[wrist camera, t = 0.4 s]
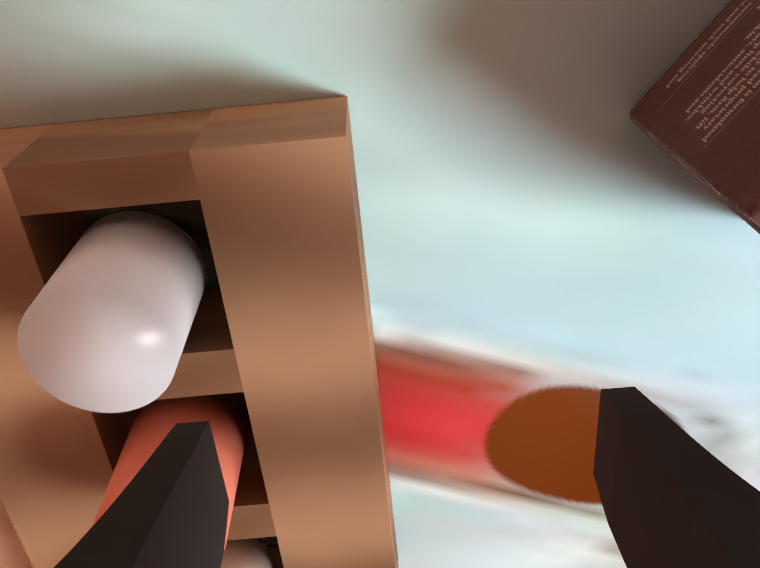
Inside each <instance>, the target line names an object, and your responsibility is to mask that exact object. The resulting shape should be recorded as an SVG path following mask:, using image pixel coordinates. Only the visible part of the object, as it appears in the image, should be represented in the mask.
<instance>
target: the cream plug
mask: <svg viewBox="0 0 760 568" xmlns="http://www.w3.org/2000/svg"><path fill="white" fill-rule="evenodd" d="M220 568H275V560H274V557H273V555H272V553H271V552H270V550H269V549H268V548H267V547H266V546H265V545H264V544H263V543H261V542H260V541H258V540H257V539H255V538H250V539H238V540H227V542H226V547H225V550H224V554H223V559H222V563H221V567H220Z"/></svg>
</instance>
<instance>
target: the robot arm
mask: <svg viewBox="0 0 760 568" xmlns="http://www.w3.org/2000/svg"><path fill="white" fill-rule="evenodd" d="M593 473H594V477H595V480H596V484H597V487H598V491H599V494H600V498H601V501H602V505H603V508H604V511H605V515H606V518H607V521H608V524H609V527H610V529H611V531H612V534H613V536H614V539H615V541H616V543H617V545H618V548H619V550H620V552H621V555H622V557H623V559H624V562H625V564H626V566H627V568H760V491H758V490H757V489H756V488H754V487H753V486H752V485H750V484H749V483H748V482H746V481H745V480H743V479H742V478H741V477H739V476H738V475H737V474H736V473H734V472H733V471H732V470H730V469H729V468H728V467H727V466H725V465H724V464H723V463H722V462H720V461H719V460H718V459H717V458H716V457H714V456H713V455H712V454H711V453H710V452H708V451H707V450H706V449H705V448H704V447H702V446H701V445H700V444H699V443H698V442H696V441H695V440H694V439H693V438H692V437H691V436H689V435H688V434H687V433H686V432H685V431H684V430H683V429H681V428H680V427H679V426H678V425H677V424H676V423H675V422H674V421H672V420H671V419H670V418H669V417H668V416H667V415H666V414H665V413H663V412H662V411H661V410H660V409H659V408H658V407H657V406H656V405H655V404H653V403H652V402H651V401H650V400H649V399H648V398H647V397H646V396H644V395H643V394H642V393H641V392H640V391H639V390H638V389H636V388H635V387H625V388H612V389H601V395H600V405H599V417H598V429H597V439H596V450H595V461H594V472H593ZM228 509H229V498H228V494H227V490H226V486H225V482H224V478H223V474H222V470H221V466H220V462H219V458H218V454H217V450H216V446H215V442H214V438H213V434H212V430H211V426H210V422H209V421H200V422H188V423H176V425H175V426H174V427H173V428H172V429H171V430H170V432H169V433H168V434H167V435H166V437H165V438H164V439H163V440H162V442H161V443H160V444H159V446H158V447H157V448H156V449H155V451H154V452H153V453H152V455H151V456H150V457H149V459H148V460H147V461H146V462H145V464H144V465H143V466H142V467H141V469H140V470H139V471H138V473H137V474H136V475H135V476H134V478H133V479H132V480H131V481H130V483H129V484H128V485H127V486H126V487H125V489H124V490H123V491H122V492H121V493H120V495H119V496H118V497H117V498H116V500H115V501H114V502H113V503H112V504H111V506H110V507H109V508H108V509H107V510H106V511H105V513H104V514H103V515H102V516H101V517H100V518H99V519H98V521H97V522H96V523H95V524H94V525H93V526H92V527H91V528H90V529H89V530H88V532H87V533H86V534H85V535H84V536H83V537H82V538H81V539H80V540H79V541H78V543H77V544H76V545H75V546H74V547H73V548H72V549H71V550H70V551H69V552H68V553H67V554H66V555H65V556H64V557H63V558H62V559H61V560H60V562H59V563H58V564H57V565H56V566H55V567H54V568H220V567H221V563H222V559H223V554H224V546H225V538H226V529H227V519H228Z"/></svg>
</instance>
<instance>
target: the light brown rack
mask: <svg viewBox="0 0 760 568" xmlns="http://www.w3.org/2000/svg"><path fill="white" fill-rule="evenodd" d="M189 200H200V202H201V206H202V211H203V215H204V220H205V224H206V228H207V233H208V237H209V242H210V246H211V250H212V255H213V259H214V263H215V268H216V272H217V277H218V281H219V285H220V289H213V290H204V292H203V295H202V297H201V300H200V303H199V306H198V309H197V312H196V314H195V317H194V320H193V323H192V326H191V328H190V331H189V334H188V337H187V340H186V342H185V345H184V348H183V351H182V354H181V357H180V359H179V362H178V365H177V368H176V371H175V373H174V376H173V379H172V381H171V383H170V385H169V386H168V387H167V389H166V390H165V391H164V392H163V393H162V394H161V395H160V396H159V397H158V398H157V399H155V400H158V399H170V398H181V397H192V396H203V395H215V394H226V393H237V392H244V395H245V400H246V404H247V408H248V413H249V417H250V422H251V426H252V430H253V432H249V433H245V447H244V452H243V458H242V463H241V468H240V474H239V479H238V484H237V490H236V495H235V500H234V505H233V511H232V516H231V521H230V527H229V532H228V537H227V540H238V539H250V538H262V537H273V536H277V540H278V545H279V546H275V547H267V548H268V549H269V550H270V552H271V553H272V555H273V557H274V560H275V568H398V555H397V546H396V537H395V527H394V518H393V509H392V500H391V491H390V482H389V473H388V464H387V455H386V446H385V436H384V427H383V418H382V409H381V400H380V391H379V382H378V373H377V364H376V355H375V346H374V336H373V327H372V318H371V309H370V300H369V291H368V282H367V273H366V264H365V255H364V245H363V236H362V227H361V218H360V209H359V200H358V191H357V182H356V173H355V164H354V155H353V145H352V136H351V127H350V118H349V109H348V100H347V96H343V97H332V98H322V99H311V100H301V101H290V102H280V103H269V104H259V105H248V106H238V107H227V108H217V109H206V110H196V111H185V112H175V113H164V114H154V115H143V116H133V117H122V118H112V119H101V120H91V121H80V122H70V123H59V124H49V125H38V126H28V127H17V128H7V129H0V500H1V502H2V504H3V506H4V508H5V510H6V512H7V514H8V517H9V519H10V521H11V523H12V525H13V527H14V529H15V531H16V533H17V535H18V537H19V539H20V541H21V543H22V545H23V548H24V550H25V552H26V554H27V556H28V558H29V560H30V562H31V564H32V566H33V568H54V567H55V566H56V565H57V564H58V563H59V562H60V560H61V559H62V558H63V557H64V556H65V555H66V554H67V553H68V552H69V551H70V550H71V549H72V548H73V547H74V546H75V545H76V544H77V543H78V541H79V540H80V539H81V538H82V537H83V536H84V535H85V534H86V533H87V532H88V530H89V529H90V528H91V527H92V526H93V525H94V520H95V517H96V515H97V512H98V510H99V507H100V505H101V502H102V500H103V497H104V495H105V492H106V489H107V487H108V484H109V482H110V479H111V477H112V474H113V472H114V469H115V467H116V464H117V462H118V459H119V457H120V454H121V452H122V449H123V447H124V444H125V442H126V439H127V437H128V434H129V432H130V429H131V427H132V424H133V422H134V419H135V417H136V415H137V414H138V412H139V411H140V410H141V409H142V408H143V407H144V406H143V407H140V408H138V409H135V410H131V411H126V412H119V413H101V412H93V411H88V410H84V409H80V408H77V407H74V406H72V405H69V404H67V403H65V402H63V401H61V400H59V399H57V398H56V397H54V396H52V395H51V394H50V393H48V392H47V391H46V390H44V389H43V388H42V387H41V386H40V385H39V384H38V383H37V382H36V381H35V380H34V379H33V378H32V377H31V375H30V374H29V372H28V371H27V369H26V368H25V366H24V364H23V362H22V360H21V357H20V354H19V350H18V344H17V333H18V328H19V324H20V322H21V319H22V317H23V315H24V314H25V312H26V310H27V309H28V308H29V306H30V305H31V304H32V302H33V301H34V300H35V298H36V297H37V296H38V294H39V293H40V292H41V290H42V289H43V287H44V286H45V285H46V283H47V282H48V281H49V279H50V278H51V277H52V275H53V274H54V273H55V271H56V270H57V269H58V267H59V266H60V265H61V263H62V262H63V260H64V259H65V258H66V256H67V255H68V254H69V252H70V251H71V250H72V248H73V247H74V246H75V244H76V243H77V242H78V240H79V239H80V238H81V236H82V235H83V233H84V232H85V231H86V230H87V229H88V228H87V225H86V222H85V219H84V215H83V212H82V210H92V209H103V208H114V207H125V206H135V205H146V204H157V203H167V202H178V201H189Z"/></svg>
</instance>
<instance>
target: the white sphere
mask: <svg viewBox="0 0 760 568" xmlns="http://www.w3.org/2000/svg"><path fill="white" fill-rule="evenodd" d="M205 285H206V267H205V262H204V259H203V256H202V254H201V252H200V250H199V248H198V247H197V245H196V243H195V242H194V241H193V240H192V238H191V237H190V236H189V235H188V234H187V233H186V232H185V231H184V230H182V229H181V228H180V227H178V226H177V225H176V224H174V223H172V222H170V221H169V220H167V219H164V218H162V217H160V216H157V215H154V214H150V213H145V212H137V211H125V212H118V213H114V214H110V215H107V216H105V217H103V218H101V219H99V220H98V221H96V222H94V223H93V224H92V225H91V226H90V227H89V228H88V229H87V230H86V231H85V232H84V233H83V235H82V236H81V238H80V239H79V240H78V242H77V243H76V244H75V246H74V247H73V248H72V250H71V251H70V252H69V254H68V255H67V256H66V258H65V259H64V260H63V262H62V263H61V265H60V266H59V267H58V269H57V270H56V271H55V273H54V274H53V275H52V277H51V278H50V279H49V281H48V282H47V283H46V285H45V286H44V287H43V289H42V290H41V292H40V293H39V294H38V296H37V297H36V298H35V300H34V301H33V302H32V304H31V305H30V306H29V308H28V309H27V310H26V312H25V314H24V315H23V317H22V319H21V322H20V324H19V328H18V333H17V344H18V350H19V354H20V357H21V360H22V362H23V364H24V366H25V368H26V369H27V371H28V372H29V374H30V375H31V377H32V378H33V379H34V380H35V381H36V382H37V383H38V384H39V385H40V386H41V387H42V388H43V389H44V390H46V391H47V392H48V393H50V394H51V395H52V396H54V397H56V398H57V399H59V400H61V401H63V402H65V403H67V404H69V405H72V406H74V407H77V408H80V409H84V410H88V411H93V412H101V413H119V412H126V411H131V410H135V409H138V408H140V407H143V406H145V405H147V404H149V403H151V402H153V401H154V400H155V399H157V398H158V397H159V396H160V395H161V394H162V393H163V392H164V391H165V390H166V389H167V387H168V386H169V385H170V383H171V381H172V379H173V376H174V373H175V371H176V368H177V365H178V362H179V359H180V357H181V354H182V351H183V348H184V345H185V342H186V340H187V337H188V334H189V331H190V328H191V326H192V323H193V320H194V317H195V314H196V312H197V309H198V306H199V303H200V300H201V297H202V295H203V292H204V289H205Z"/></svg>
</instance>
